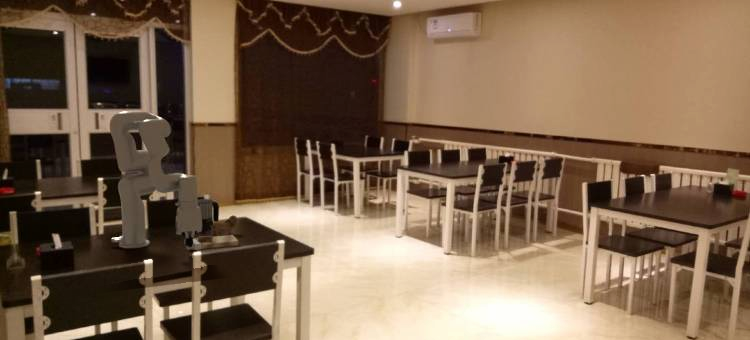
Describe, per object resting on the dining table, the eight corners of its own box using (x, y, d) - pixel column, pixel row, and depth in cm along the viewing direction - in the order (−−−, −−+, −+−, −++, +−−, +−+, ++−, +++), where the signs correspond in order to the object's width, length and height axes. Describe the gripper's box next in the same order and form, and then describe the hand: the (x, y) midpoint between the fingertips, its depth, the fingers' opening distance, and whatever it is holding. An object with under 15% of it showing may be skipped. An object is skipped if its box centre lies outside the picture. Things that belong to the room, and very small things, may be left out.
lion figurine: (234, 231, 285) (234, 214, 283) (239, 233, 280) (239, 215, 279) (206, 235, 275) (206, 217, 274) (211, 238, 271) (210, 219, 270)
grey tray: (188, 250, 250) (187, 240, 249) (184, 243, 260) (184, 234, 260) (238, 245, 259) (238, 235, 258) (232, 239, 270) (232, 230, 269)
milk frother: (207, 231, 283) (206, 202, 281) (179, 229, 286) (178, 200, 285) (221, 225, 296) (221, 197, 294) (194, 223, 300) (194, 196, 298)
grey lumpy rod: (185, 243, 252) (185, 237, 251) (191, 242, 253) (191, 236, 253) (195, 250, 241) (195, 243, 241) (201, 249, 243) (201, 242, 243)
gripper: (172, 207, 232) (174, 251, 235) (208, 204, 241) (209, 246, 244) (167, 204, 239) (168, 246, 241) (202, 201, 247) (203, 242, 250)
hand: (189, 246), depth 242 cm, fingers closed
